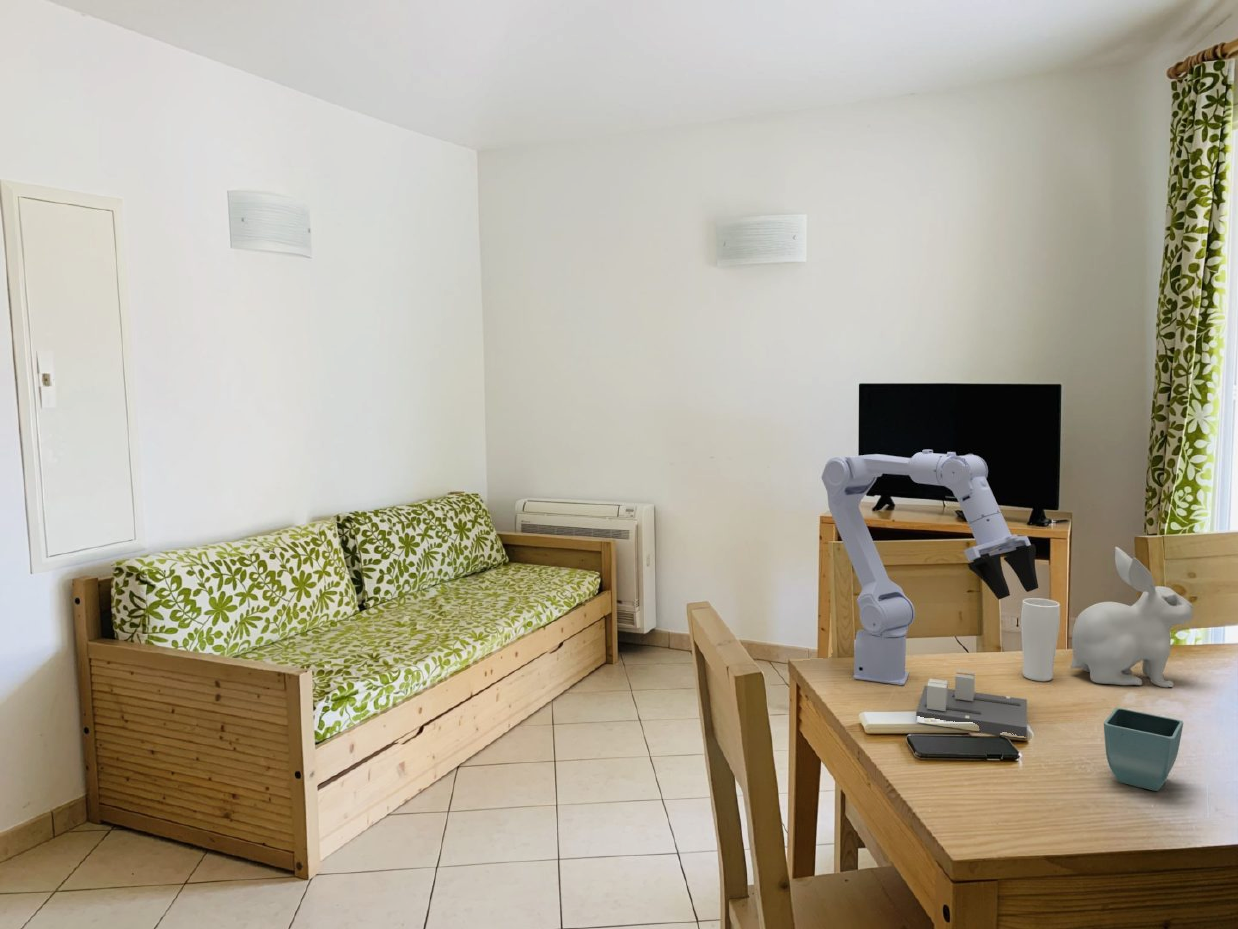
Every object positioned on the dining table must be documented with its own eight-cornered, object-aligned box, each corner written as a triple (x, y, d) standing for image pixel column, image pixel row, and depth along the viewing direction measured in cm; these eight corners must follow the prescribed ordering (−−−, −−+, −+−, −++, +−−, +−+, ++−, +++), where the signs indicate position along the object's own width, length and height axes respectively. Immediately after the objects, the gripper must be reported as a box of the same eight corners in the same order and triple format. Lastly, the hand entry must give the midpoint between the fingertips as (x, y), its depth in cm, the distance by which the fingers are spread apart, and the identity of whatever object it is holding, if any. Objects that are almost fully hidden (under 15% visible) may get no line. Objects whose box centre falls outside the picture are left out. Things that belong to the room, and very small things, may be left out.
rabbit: (1199, 694, 167) (1208, 560, 164) (1077, 685, 171) (1084, 555, 169) (1176, 674, 178) (1184, 549, 175) (1063, 666, 183) (1068, 544, 180)
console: (915, 723, 153) (916, 710, 152) (924, 696, 165) (924, 685, 165) (1026, 739, 146) (1026, 726, 145) (1026, 710, 158) (1026, 698, 158)
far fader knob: (954, 698, 158) (955, 675, 157) (956, 691, 161) (957, 669, 161) (973, 701, 157) (974, 678, 156) (974, 694, 160) (975, 671, 160)
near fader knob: (926, 708, 153) (927, 684, 153) (928, 701, 157) (929, 677, 156) (945, 711, 152) (946, 687, 151) (947, 703, 155) (948, 680, 155)
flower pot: (1112, 763, 137) (1115, 706, 136) (1180, 780, 131) (1184, 720, 130) (1099, 783, 130) (1102, 723, 129) (1170, 801, 124) (1174, 738, 123)
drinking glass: (1049, 672, 179) (1052, 598, 177) (1062, 684, 172) (1066, 607, 171) (1013, 671, 179) (1016, 597, 178) (1025, 683, 173) (1029, 606, 171)
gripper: (974, 516, 150) (1009, 593, 145) (1029, 505, 157) (1064, 579, 153) (944, 531, 155) (976, 606, 151) (998, 520, 163) (1031, 592, 158)
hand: (1018, 593), depth 152 cm, fingers open, 7 cm apart
